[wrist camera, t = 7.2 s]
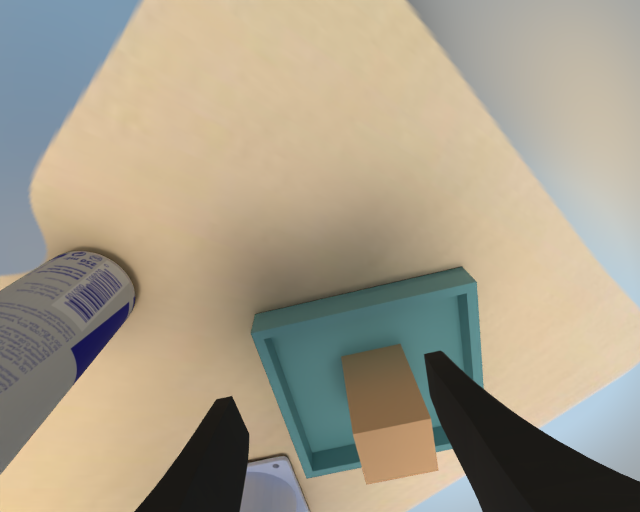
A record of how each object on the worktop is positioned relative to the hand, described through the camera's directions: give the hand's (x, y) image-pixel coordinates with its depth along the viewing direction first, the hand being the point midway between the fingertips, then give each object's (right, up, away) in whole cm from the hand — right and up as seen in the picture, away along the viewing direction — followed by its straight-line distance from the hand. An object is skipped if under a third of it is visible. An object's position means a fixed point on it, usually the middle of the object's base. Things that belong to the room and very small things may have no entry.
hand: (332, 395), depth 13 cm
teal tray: (+3, -3, +12) cm, 13 cm away
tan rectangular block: (+3, -3, +11) cm, 12 cm away
